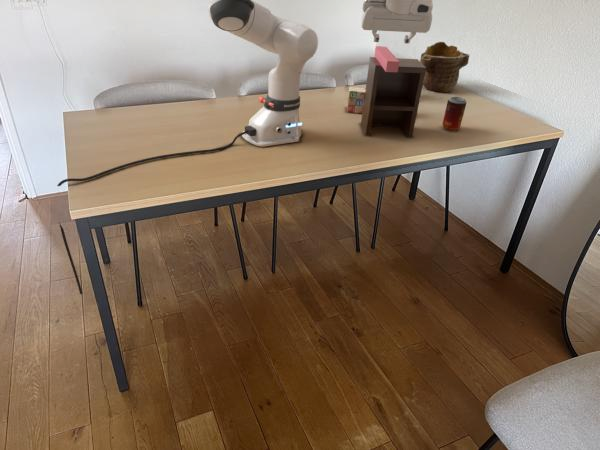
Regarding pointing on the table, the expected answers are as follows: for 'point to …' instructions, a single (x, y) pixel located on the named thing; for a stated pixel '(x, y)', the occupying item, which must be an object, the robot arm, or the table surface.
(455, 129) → the soda can
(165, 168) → the table surface
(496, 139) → the table surface
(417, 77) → the walnut shelf
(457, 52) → the brown wicker basket
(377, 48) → the pink block
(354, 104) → the stack of blocks
